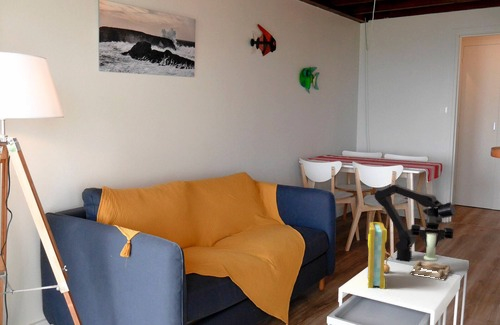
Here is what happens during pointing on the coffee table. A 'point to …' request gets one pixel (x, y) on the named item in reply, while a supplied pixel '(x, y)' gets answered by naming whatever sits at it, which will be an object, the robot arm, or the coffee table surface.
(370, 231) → the book
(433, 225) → the robot arm
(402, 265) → the coffee table surface
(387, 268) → the figurine
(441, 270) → the keyhole board
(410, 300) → the coffee table surface
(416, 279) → the coffee table surface
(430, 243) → the sage peg
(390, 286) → the coffee table surface
